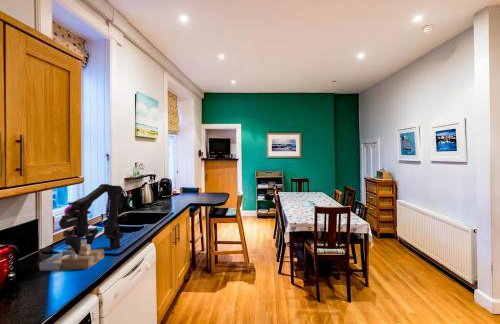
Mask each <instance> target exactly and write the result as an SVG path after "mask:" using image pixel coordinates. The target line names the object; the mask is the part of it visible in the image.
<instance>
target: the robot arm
mask: <svg viewBox="0 0 500 324" xmlns="http://www.w3.org/2000/svg"><path fill="white" fill-rule="evenodd" d="M105 193H107V194H106V195H107V197H108V199H109V205H108V206H109V208H108V209H109V210H108V219H107V220H108V222H107V224H106V225H104V227H103V234H104V236H105V237H106V240H107V239H109V247H108V248H107V249H108V250H118V249H119V248H118V247H119V246H120V245H121V239H122V238H124V232H123V231H121V229H120V225H119V222H118V219H119V218H118V215H119V201H120V198H121V197H122V194H123V187H122V185H112V184H109V183H101V184H100V185H99V186H98V187H96V188H95V189H94V190H92V191H91V192H89V194H87V195H86V196H84V197H81V198H79V199H76V200H75V201H73V202H72V203H71V206H70V208H69V210H68V212H67V214H65V215H61V218H60V219H59V222H58V225H59V227H60V228H61V229H62V230H63V232H62V236H63V237H64V238H65V240H64V245H65V246H69V245H70V246H71V247H72V248H73V250H74V252H75V253H76V255H79V252H80V247H81V240H82V239H83V238H85V240H87V243H86V244H90V248H91V247H92V245H93V243H94V240H95V239H96V236H97V234H99V229H98V228H96V227H94V228H93V227H91V228H90V225H91V223H89V221H88V220H89V219H88V215H89V214H92V213H91V211H90V210H89V209H90V208H91V207H92V204H93V203H94V202H95V201H96V200H97V199H99V198H100V197H101V196H102V195H103V194H105ZM69 228H72V229H70V230H69ZM117 248H118V249H117Z"/></svg>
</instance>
